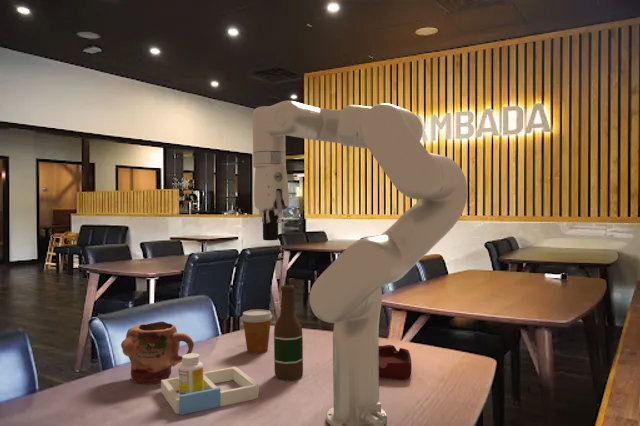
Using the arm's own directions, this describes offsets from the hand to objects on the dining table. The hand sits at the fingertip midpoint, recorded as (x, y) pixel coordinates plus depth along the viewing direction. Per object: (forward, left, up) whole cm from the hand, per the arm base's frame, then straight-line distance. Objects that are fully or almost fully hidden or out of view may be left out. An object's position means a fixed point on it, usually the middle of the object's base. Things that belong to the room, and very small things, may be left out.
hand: (270, 239), depth 117 cm
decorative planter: (+29, +20, -37) cm, 51 cm away
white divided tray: (+10, +12, -37) cm, 40 cm away
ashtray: (+1, -33, -38) cm, 50 cm away
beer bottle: (+12, -10, -37) cm, 40 cm away
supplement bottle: (+10, +16, -37) cm, 42 cm away
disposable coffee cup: (+38, -12, -37) cm, 55 cm away
